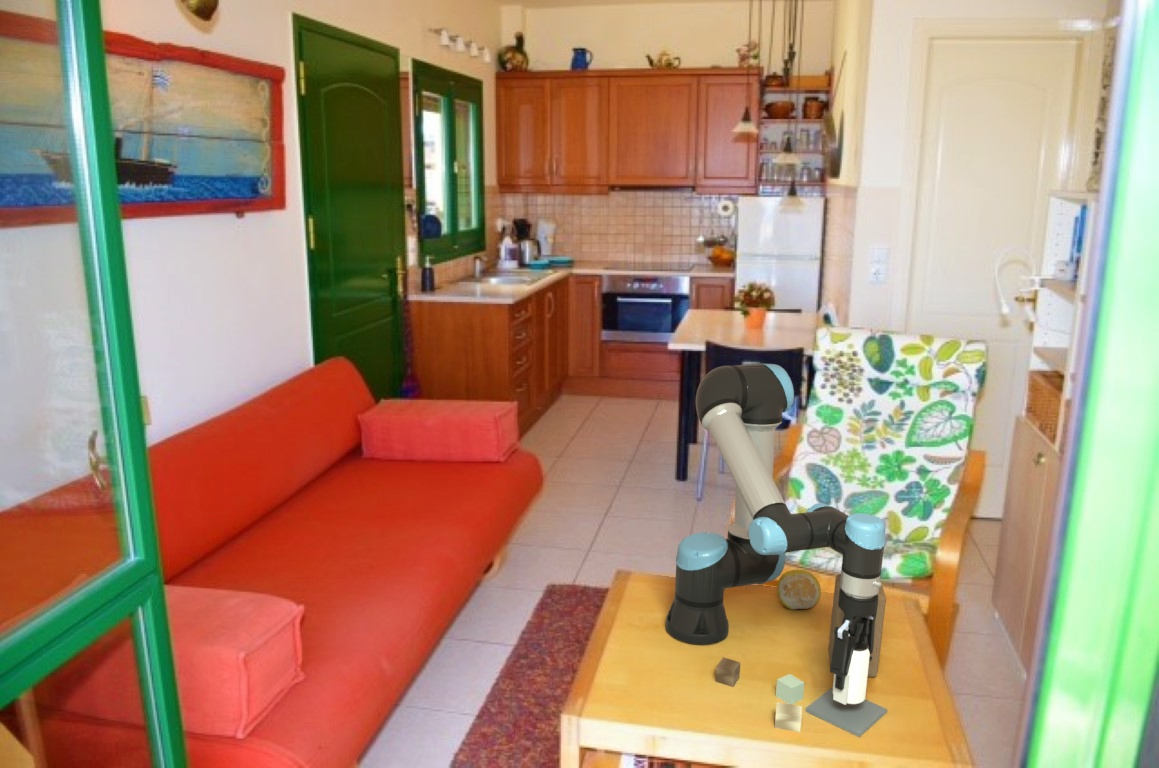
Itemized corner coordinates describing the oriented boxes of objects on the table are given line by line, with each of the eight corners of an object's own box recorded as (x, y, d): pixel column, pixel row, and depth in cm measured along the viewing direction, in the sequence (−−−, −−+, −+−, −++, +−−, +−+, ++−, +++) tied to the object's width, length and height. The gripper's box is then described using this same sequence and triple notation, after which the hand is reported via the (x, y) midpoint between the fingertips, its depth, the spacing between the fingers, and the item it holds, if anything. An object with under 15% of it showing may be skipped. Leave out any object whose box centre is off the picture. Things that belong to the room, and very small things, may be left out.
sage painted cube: (775, 696, 187) (777, 679, 186) (788, 690, 189) (789, 673, 188) (790, 705, 184) (791, 688, 183) (802, 699, 186) (804, 682, 185)
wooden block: (877, 679, 194) (887, 596, 190) (830, 673, 196) (839, 591, 192) (872, 656, 204) (881, 576, 199) (827, 650, 206) (835, 571, 201)
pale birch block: (774, 728, 176) (776, 710, 175) (775, 719, 179) (776, 702, 178) (800, 732, 175) (801, 714, 174) (800, 723, 178) (802, 706, 177)
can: (846, 708, 177) (852, 654, 174) (825, 691, 183) (830, 638, 180) (871, 701, 179) (877, 648, 177) (850, 685, 185) (855, 633, 182)
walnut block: (715, 682, 192) (716, 665, 191) (721, 673, 195) (723, 657, 194) (733, 687, 190) (734, 670, 189) (739, 678, 193) (740, 662, 192)
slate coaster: (805, 711, 182) (805, 707, 182) (834, 688, 190) (834, 685, 190) (859, 737, 174) (859, 733, 173) (886, 712, 182) (887, 709, 182)
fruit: (770, 599, 230) (773, 564, 228) (809, 598, 232) (813, 563, 229) (783, 618, 220) (786, 581, 218) (824, 617, 222) (828, 580, 219)
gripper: (853, 613, 166) (842, 721, 172) (898, 582, 180) (887, 683, 185) (817, 600, 171) (808, 705, 177) (864, 571, 185) (853, 670, 190)
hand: (848, 694), depth 181 cm, fingers closed on can, 6 cm apart
